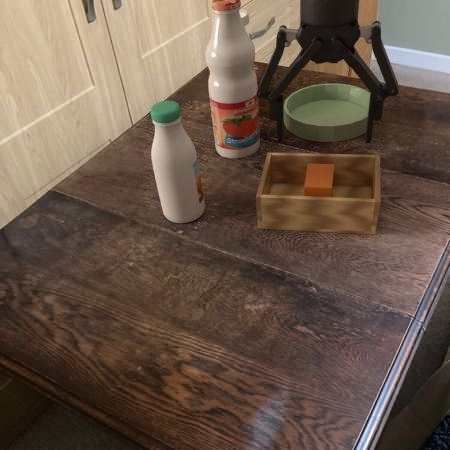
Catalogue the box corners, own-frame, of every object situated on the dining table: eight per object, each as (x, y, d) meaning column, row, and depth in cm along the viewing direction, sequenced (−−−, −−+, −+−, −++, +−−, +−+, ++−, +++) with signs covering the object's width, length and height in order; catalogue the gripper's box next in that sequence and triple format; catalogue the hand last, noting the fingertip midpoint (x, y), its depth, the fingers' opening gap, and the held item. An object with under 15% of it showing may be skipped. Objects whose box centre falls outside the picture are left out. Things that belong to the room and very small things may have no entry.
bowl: (373, 100, 112) (376, 83, 109) (373, 144, 100) (376, 126, 97) (289, 100, 116) (289, 83, 113) (279, 143, 103) (278, 125, 101)
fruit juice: (242, 132, 108) (231, -14, 88) (269, 148, 102) (265, -4, 82) (207, 148, 105) (187, 1, 84) (233, 166, 99) (219, 12, 79)
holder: (375, 186, 90) (380, 154, 85) (375, 234, 81) (380, 202, 76) (268, 183, 94) (267, 152, 89) (257, 228, 85) (255, 196, 80)
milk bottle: (196, 227, 87) (177, 120, 72) (157, 221, 89) (131, 116, 75) (211, 201, 92) (196, 96, 77) (173, 196, 94) (152, 93, 79)
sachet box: (331, 193, 89) (334, 164, 85) (329, 217, 84) (332, 187, 80) (306, 192, 90) (307, 163, 85) (303, 216, 85) (304, 186, 81)
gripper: (228, 0, 63) (242, 150, 78) (437, -12, 57) (407, 151, 73) (238, -18, 67) (249, 126, 83) (432, -31, 62) (405, 126, 78)
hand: (323, 138), depth 78 cm, fingers open, 13 cm apart
